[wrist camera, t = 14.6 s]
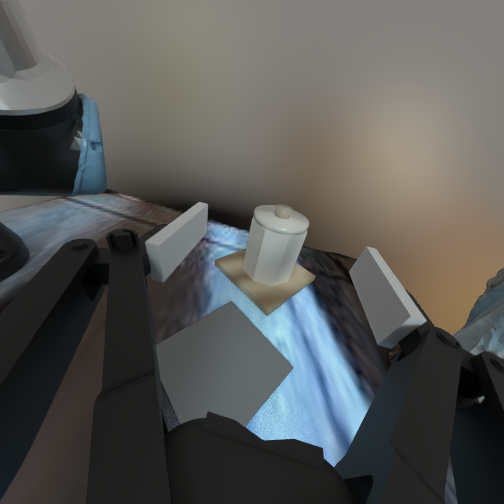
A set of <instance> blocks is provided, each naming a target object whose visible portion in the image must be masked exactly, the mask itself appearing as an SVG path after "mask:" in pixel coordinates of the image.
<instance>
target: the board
mask: <svg viewBox="0 0 504 504" xmlns="http://www.w3.org/2000/svg"><path fill="white" fill-rule="evenodd" d="M245 253H246V249H244V250H242V251H239V252H236V253H233V254H231V255H228V256H225V257H222V258H220V259H217V260H215V266H216V267H217V268H218V269H219V270H220V271H222V272H223V273H224V274H225V275H226V276H227V277H228V278H229V279H230V280H231V281H232V282H233V283H234V284H235V285H236V286H237V287H238V288H239V289H240V290H241V291H242V292H243V293H244V294H245V295H246V296H247V297H248V298H249V299H250V300H251V301H252V302H253V303H254V304H255V305H257V306H258V307H259V308H260V309H261V310H262V311H263V312H264V313H265V314H266V315H267V316H268V315H269V314H270V313H271V312H273V311H274V310H275V309H277V308H278V307H279V306H281V305H282V304H283V303H285V302H286V301H287V300H289V299H290V298H291V297H292V296H294V295H295V294H296V293H298V292H299V291H300V290H302V289H303V288H304V287H306V286H307V285H308V284H310V283H311V282H312V281H313V280H314V278H315V276H314V275H313V274H311V273H310V272H308V271H307V270H306V269H304V268H303V267H301V266H300V265H298V264H297V263H295V265H294V267H293V270H292V272H291V275H290V277H289V280H288V281H286V282H283V283H281V284H278V285H276V286H270V285H266V284H263V283H259V282H256V281H253V280H252V279H251V278H250V277H249V275H248V274H247V273H246V272H245V271H244V269H243V263H244V258H245Z"/></svg>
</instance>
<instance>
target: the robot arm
mask: <svg viewBox="0 0 504 504" xmlns="http://www.w3.org/2000/svg"><path fill="white" fill-rule="evenodd" d="M106 188H107V178H106V167H105V159H104V150H103V142H102V133H101V125H100V117H99V110H98V104H97V102H96V101H95V100H94V99H92V98H90V97H88V96H86V95H84V94H77V91H76V88H75V85H74V82H73V80H72V78H71V76H70V74H69V72H68V70H67V69H66V68H65V67H64V66H63V65H62V64H61V63H60V62H59V61H58V60H57V59H55V58H54V57H53V56H52V55H50V54H49V53H48V52H47V51H45V50H44V49H43V48H41V47H40V46H39V44H38V41H37V39H36V37H35V34H34V32H33V29H32V27H31V24H30V22H29V20H28V17H27V15H26V12H25V10H24V8H23V5H22V3H21V1H20V0H0V195H24V196H25V195H26V196H27V195H28V196H70V197H75V196H76V195H97V194H100V193H102V192H104V191H105V190H106ZM207 214H208V204H205V203H201V202H199V203H197V204H196V205H194V206H193V207H192V208H190V209H189V210H188V211H186V212H185V213H184V214H182V215H181V216H179V217H178V218H177V219H175V220H174V221H173V222H171V223H170V224H169V225H168V224H161V225H158V226H156V227H155V228H153V229H152V230H150V231H149V232H148V233H146V234H144V235H143V236H141V237H140V238H139V239H138V235H137V233H136V231H134V230H131V229H118V230H114V231H111V232H110V233H108V234H107V236H106V238H107V241H108V244H109V247H110V248H98V247H97V245H96V243H95V241H93V240H91V239H76V240H72V241H70V242H67V243H66V244H64V245H63V246H62V247H61V248H60V249H59V250H58V251H57V252H56V253H55V255H54V256H53V257H52V258H51V259H50V260H49V261H48V262H47V263H46V264H45V266H44V267H43V268H42V269H41V270H40V271H39V272H38V273H37V274H36V275H35V276H34V278H33V279H32V280H31V281H30V282H29V283H28V284H27V285H26V286H25V287H24V288H23V290H22V291H21V292H20V293H19V294H18V295H17V296H16V297H15V298H14V299H13V300H12V302H11V303H10V304H9V305H8V306H7V307H6V308H5V309H4V310H3V311H2V312H1V314H0V500H1V498H2V497H3V495H4V494H5V492H6V490H7V489H8V487H9V485H10V484H11V482H12V480H13V479H14V477H15V475H16V474H17V472H18V470H19V469H20V467H21V465H22V463H23V461H24V459H25V457H26V456H27V454H28V452H29V450H30V448H31V446H32V444H33V442H34V440H35V438H36V435H37V433H38V431H39V429H40V427H41V425H42V423H43V420H44V418H45V416H46V414H47V412H48V410H49V408H50V405H51V403H52V401H53V399H54V397H55V395H56V393H57V390H58V388H59V386H60V384H61V382H62V380H63V377H64V375H65V373H66V371H67V369H68V367H69V365H70V362H71V360H72V358H73V356H74V354H75V352H76V350H77V347H78V345H79V343H80V341H81V339H82V337H83V335H84V332H85V330H86V328H87V326H88V324H89V322H90V320H91V317H92V315H93V313H94V311H95V309H96V307H97V305H98V302H99V300H100V298H101V296H102V294H103V292H104V289H105V287H106V285H107V284H108V299H107V315H106V332H105V349H104V366H103V382H102V390H101V393H100V394H99V395H98V397H97V399H96V402H95V407H94V414H93V426H92V439H91V451H90V463H89V475H88V487H87V500H86V504H445V501H444V492H445V484H446V477H447V469H448V461H449V453H450V456H451V463H452V469H453V476H454V482H455V489H456V495H457V501H458V504H504V359H502V358H500V357H498V356H497V355H495V354H493V353H490V352H487V351H483V352H481V353H480V354H478V355H474V354H472V353H470V352H468V351H466V350H464V349H462V346H461V345H460V343H459V342H458V341H457V340H456V339H455V338H454V337H453V336H452V335H450V334H449V333H448V332H446V331H444V330H443V329H440V328H438V327H435V326H434V325H433V324H432V322H431V321H430V319H429V318H428V316H427V315H426V314H425V312H424V311H423V310H422V309H421V307H420V305H419V304H418V303H417V301H416V300H415V299H414V297H413V296H412V295H411V294H410V293H409V292H408V291H407V290H405V289H404V288H403V286H402V285H401V284H400V282H399V281H398V279H397V278H396V277H395V275H394V274H393V272H392V271H391V270H390V268H389V267H388V265H387V264H386V262H385V261H384V260H383V258H382V257H381V255H380V254H379V252H378V251H377V250H376V249H374V248H370V247H366V248H365V249H364V251H363V252H362V254H361V255H360V256H359V258H358V259H357V261H356V262H355V264H354V265H353V267H352V268H351V270H350V271H349V273H350V276H351V279H352V281H353V284H354V286H355V289H356V291H357V294H358V296H359V299H360V301H361V304H362V306H363V309H364V311H365V314H366V316H367V319H368V321H369V324H370V327H371V329H372V332H373V334H374V337H375V339H376V342H377V344H378V345H380V346H383V347H387V348H390V349H391V348H393V347H394V346H395V345H396V344H398V343H399V345H400V347H401V349H402V350H400V351H399V352H398V353H396V354H395V355H393V356H392V357H391V358H389V360H390V361H391V360H393V362H392V364H391V366H390V368H389V370H388V372H387V374H386V376H385V378H384V380H383V382H382V384H381V386H380V388H379V390H378V392H377V394H376V396H375V397H374V399H373V401H372V403H371V405H370V407H369V409H368V411H367V413H366V415H365V417H364V419H363V421H362V423H361V425H360V427H359V429H358V431H357V433H356V435H355V437H354V439H353V441H352V443H351V445H350V447H349V449H348V451H347V453H346V454H345V456H344V457H343V458H342V459H341V460H340V461H339V462H338V463H337V464H336V466H335V467H333V466H332V465H331V464H330V463H328V462H327V461H326V460H325V459H324V456H323V448H321V447H318V446H315V445H311V444H308V443H305V442H302V441H299V440H296V439H283V440H267V441H266V440H262V439H260V438H259V437H258V436H256V435H255V434H254V433H252V432H251V431H249V430H248V429H247V428H245V427H244V426H243V425H241V424H240V423H239V422H237V421H236V420H234V419H231V418H228V417H224V416H221V415H218V414H215V413H212V412H209V411H208V412H207V415H206V418H197V419H193V420H190V421H187V422H184V423H182V424H180V425H179V426H177V427H175V428H174V429H172V430H171V431H170V432H168V425H167V418H166V412H165V406H164V400H163V394H162V386H161V379H160V372H159V365H158V358H157V351H156V344H155V337H154V330H153V322H152V315H151V308H150V301H149V294H148V287H147V280H146V276H147V275H148V274H149V273H151V278H152V279H153V280H156V281H159V282H163V283H164V281H165V280H166V279H167V278H168V277H169V276H170V274H171V273H172V272H173V271H174V270H175V269H176V268H177V266H178V265H179V264H180V263H181V262H182V261H183V260H184V258H185V257H186V256H187V255H188V254H189V253H190V251H191V250H192V249H193V248H194V247H195V246H196V245H197V243H198V242H199V241H200V240H201V239H202V238H203V236H204V235H205V234H206V232H207ZM28 257H29V250H28V248H27V247H26V245H25V244H24V242H23V240H22V239H21V238H20V237H19V236H18V235H17V234H16V233H14V232H13V231H12V230H10V229H9V228H8V227H6V226H5V225H4V224H2V223H1V222H0V281H1V280H3V279H5V278H6V277H8V276H10V275H11V274H13V273H14V272H16V271H17V270H18V269H19V268H20V267H22V266H23V265H24V263H25V262H26V261H27V259H28ZM483 396H484V400H483V401H482V402H481V403H480V402H479V399H478V398H480V397H483Z"/></svg>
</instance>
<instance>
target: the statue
mask: <svg viewBox="0 0 504 504" xmlns="http://www.w3.org/2000/svg"><path fill="white" fill-rule="evenodd" d="M486 285H487V289H486V291H485V292H484V294H483V295H481V296H480V297H479V298H478V300H477V301H476V303H475V305H474V306H473V308H472V310H471V311H470V314H469V317H468V319H467V322H466V324H465V325H464V327H463V328H462V329H461V330H460V331H458V332H457V333H455V334H454V335H453V337H454V338H455V339H456V340H457V341H458V342H459V343H460V345H461V346H462V349H464V350H466V351H468V352H470V353H472V354H474V355H478V354H480V353H481V352H483V351H487V352H490V353H493V354H495V355H497V356H498V357H500V358H502V359H504V268H503V269H501V270H500V271H499V272H498V273H497V275H496V276H495V277H493V278H491V279H489V280H488V281H487V283H486ZM400 350H402V349H401V347H400V348H399V349H394V350H392V351H391V352H390V353H389V358H391V357H392V356H393V355H395V354H396V353H398V352H399V351H400ZM392 362H393V360H391V361H390V363H391V364H392ZM478 399H479V402H481V401H482V400H483V399H484V396H483V397H480V398H478Z"/></svg>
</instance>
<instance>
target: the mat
mask: <svg viewBox="0 0 504 504" xmlns="http://www.w3.org/2000/svg"><path fill="white" fill-rule="evenodd" d="M156 351H157V358H158V365H159V372H160V379H161V383H162V385H163V387H164V389H165V391H166V393H167V396H168V398H169V400H170V402H171V404H172V407H173V409H174V411H175V413H176V415H177V417H178V420H179V422H180V424H182V423H184V422H187V421H190V420H193V419H197V418H206V415H207V412H208V411H209V412H212V413H215V414H218V415H221V416H224V417H228V418H231V419H234V420H236V421H237V422H239V423H240V424H241V425H243V426H244V427H245V426H246V425H247V424H248V422H249V421H250V420H251V419H252V418H253V416H254V415H255V414H256V413H257V411H258V410H259V409H260V408H261V407H262V405H263V404H264V403H265V402H266V401H267V399H268V398H269V397H270V396H271V395H272V393H273V392H274V391H275V390H276V388H277V387H278V386H279V385H280V384H281V382H282V381H283V380H284V379H285V378H286V376H287V375H288V374H289V373H290V372H291V370H292V369H293V366H292V365H291V364H290V363H289V362H288V361H287V360H286V359H285V358H284V357H283V356H282V355H281V354H280V353H279V352H278V350H277V349H276V348H275V347H274V346H273V345H272V344H271V343H270V342H269V341H268V340H267V339H266V338H265V337H264V336H263V334H262V333H261V332H260V331H259V330H258V329H257V328H256V327H255V326H254V325H253V324H252V323H251V322H250V321H249V319H248V318H247V317H246V316H245V315H244V314H243V313H242V312H241V311H240V310H239V309H238V308H237V307H236V306H235V305H234V303H233V302H232V301H231V302H230V303H228V304H226V305H224V306H223V307H221V308H219V309H217V310H216V311H214V312H212V313H210V314H209V315H207V316H205V317H204V318H202V319H200V320H198V321H197V322H195V323H193V324H191V325H190V326H188V327H186V328H184V329H183V330H181V331H179V332H177V333H176V334H174V335H172V336H170V337H169V338H167V339H165V340H164V341H162V342H160V343H158V344H157V345H156Z"/></svg>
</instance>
